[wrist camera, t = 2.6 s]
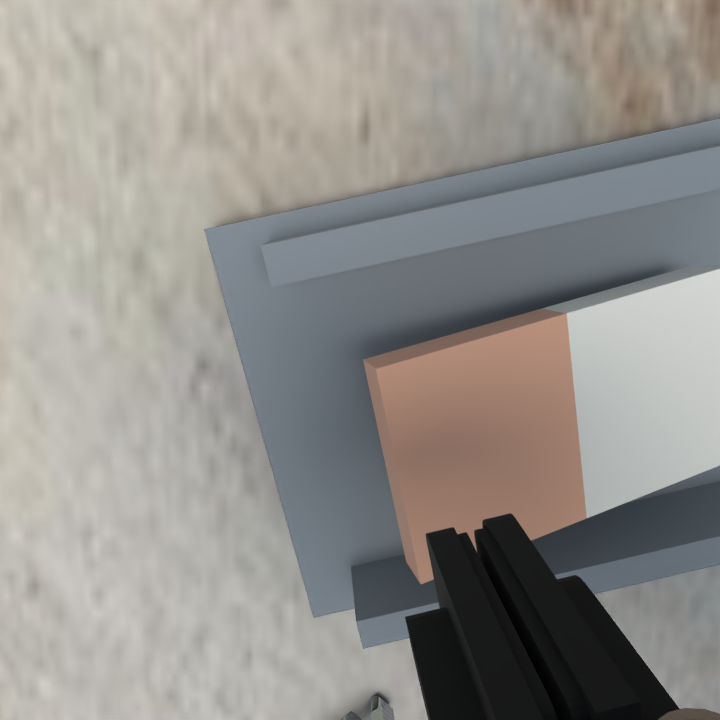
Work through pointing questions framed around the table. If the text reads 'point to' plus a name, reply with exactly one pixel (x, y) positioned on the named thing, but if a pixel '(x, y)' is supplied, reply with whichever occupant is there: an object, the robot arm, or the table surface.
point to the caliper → (375, 711)
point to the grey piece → (445, 317)
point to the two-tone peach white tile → (552, 410)
